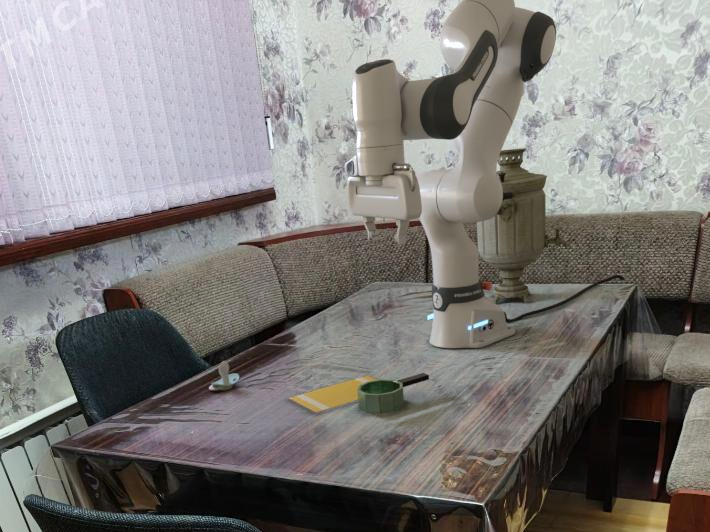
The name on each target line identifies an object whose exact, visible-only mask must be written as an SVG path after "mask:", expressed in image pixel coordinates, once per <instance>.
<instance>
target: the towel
mask: <svg viewBox="0 0 710 532" xmlns="http://www.w3.org/2000/svg"><path fill="white" fill-rule="evenodd" d="M374 380H378V379H377V378H374V377H371V376H369V375H365V376H360V377H356V378H354V379H349V380H347V381H343V382H340V383H336V384H332V385H329V386H326V387H323V388H319V389H315V390H312V391H309V392H308V391H307V392H305V393H301V394H298V395H294V396H291V397H288V399H289V400H292V401H293V402H295V403H298V404H299V405H301V406H303V407H304V408H307V409H309V410H310V411H313V413H319V412H323V411H326V410H330V409H333V408H335V407H338V406H343V405H346V404H349V403H352V402H356V401H358V393H357V390H358V386H359V385H362V384H364V383H366V382H368V381H374Z"/></svg>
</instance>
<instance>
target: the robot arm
mask: <svg viewBox="0 0 710 532" xmlns="http://www.w3.org/2000/svg"><path fill="white" fill-rule="evenodd" d="M445 19H446V20H445V21H444V23H443V25H442V28H441V29H440V33H439V48H440V52H441V55H442V57H443V60H444V62H445V63H446V65H447V66H448V67H449V68H450V69H451V70H452V71H453V72H452V73H450V74H445V75H441V76H437V77H431V78H425V79H424V78H423V79H416V80H410V79H409V78H406V76H404V75H403V74H401V73H400V71H398V69H397V65H396V62H395V61H394V60H393V59H389V58H388V59H387V58H384V59H378V60H374V61H369V62H366V63H363V64H361V65H359V66H358V67H357V68H356V69H355V70H354V73H353V78H352V88H351V89H352V91H351V93H352V95H351V96H352V112H353V113H352V114H353V122H354V125H355V128H356V135H357V138H356V147H355V148H356V149H355V150H356V154H355V155H354V156H353V157H352V158H350V160H348V161H346V162H345V163H344V173H345V176H347V177H348V178H347V181H346V188H347V197H348V205H349V209H350V212H351V214H352V215H353V216H358V217H362V223H363V225H364V227H365V230H366V232H367V240H368V241H370V242H375V241H379V240H380V231H379V230H378V229H377V227H376V224H375V223H376V222H375V221H376V218H379V219H388V220H395V225H396V226H397V229H396V234H394V235H393V238H394V244H395V245H398V246H402V245H405V244H407V233H408V230H409V227H410V220H411V221H412V220H417V219H418V221H419V222H420V223H421V225H422V227H423V231H424V232H425V236H426V238H427V241H428V245H429V247H430V248H429V249H430V256H431V266H432V267H431V268H432V284H431V300H432V307H433V313H431V314H429V315H427V321H429V320H431V319H432V324H431V331H430V336H429V340H428V342H429V344H430V345H431V346H434V347H437V348H443V349H465V348H466V349H467V348H468V349H469V348H470V349H480V348H484V347H487V346H489V345H491V344H494V343H497V342H498V341H502V340H504V339H506V338H509V337H511V336H513V335H516V330H515V328H514V327H511V326H510V325H507V323H513V322H517V321H519V320H522V319H524V318H527V317H530V316H533V315H537V314H541V313H544V312H547V311H551V310H553V309H555V308H559V307H560V306H564V305H565V304H567V303H569V302H571V301H573V300H574V299H576V298H578V297H579V296H581V295H582V294H584V293H586V292H587V291H589V290H592V288H594V287H597V286H598V285H601V284H605V283H607V282H609V281H611V280H612V281H613V280H614V279H620V280H621V281H625V280H626V279H625V278H624V276H622V275H621V274H614V275H611V276H609V277H606V278H604V279H601V280H598V281H596V282H594V283H592V284H590V285H587V286H586V287H585V288H582V289H581V290H580V291H578V292H576V293H575V294H573V295H571V296H569V297H568V298H566V299H564V300H561V301H560V302H557V303H555V304H552V305H549V306H546V307H543V308H539V309H535V310H532V311H528V312H525V313H522V314H520V315H518V316H517V317H515V318H511V319H510V318H508V315H507V313H506V312H505V311H504V310H503V308H502V307H500V306H499V305H497V304H495V303H494V302H492V300H491V299H490V298H488V297H487V296H485V295H486V293H485V292H484V291H488V292H489V291H491V290H492V289H493V283H492V282H491V281H487V280H484V281H483V282H482V281H480V280H479V279H480V278H479V275H480V273H479V270H480V269H479V251H478V245H477V244H476V243H475V241H473V240H472V239H471V238H470V236H469V235H468V232H467V231H466V228H465V225H464V224H477V222H481V221H485V220H489V219H491V218H493V217H494V216H495V215H496V214H497V212H498V211H499V209H500V207H501V204H502V199H503V189H502V185H501V182H500V180H499V178H498V177H497V173H496V172H497V169H498V168H497V167H498V162H497V161H498V157H499V154H500V152H501V151H502V150H503V147H504V144H505V142H506V140H507V138H508V135H509V133H510V131H511V128H512V126H513V124H514V121H515V119H516V116H517V114H518V112H519V108H520V105H521V100H522V97H523V93H524V88H525V83H527V82H531V81H532V80H533V79H534V77H535V76H536V75H538V74H539V73H540V72H541V71H542V70H543V69H544V68H545V67H546V66H547V64H549V62H550V61H551V58H552V56H553V52H554V50H555V47H556V40H557V27H556V24H555V20H554V19H553V17H551V16H550V15H548V14H546V13H544V12H541V11H539V10H538V11H536V12H535V11H532V10H529V9H526V8H522V7H519V6H518V7H517V6H516V3H515V0H461V1H460V2H459V4H457V6H456V7H455V8H454V9H453V10H452V12H451V13H450V14H449V15H448V16H447V18H445ZM418 140H419V141H420V140H453V142H454V146H455V149H456V150H457V152H458V154H459V158H458V161H457V163H456V165H455V167H454V168H451V169H449V168H447V169H431V170H428V171H424V172H422V173H419V174H418V175H417V174H416V171H415V170H414V168H413V167H412V166H411V164H410V163H406V161H405V145H404V143H405V142H404V141H418Z"/></svg>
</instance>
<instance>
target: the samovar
mask: <svg viewBox="0 0 710 532" xmlns="http://www.w3.org/2000/svg"><path fill="white" fill-rule="evenodd" d="M525 151H527V148H525V147H524V148H511V149H510V148H509V149H501V152H500V154H499V157H498V161H497V165H498V166H499V170H496V173H497V177H498V178H499V180H500V182H501V185H502V189H503V199H502V204H501V207H500V209H499V211H498V212H497V214H496V215H495V216H494V217H493V218H491V219H489V220H485V221H481V222H476V235H477V248H478V255H479V257H480V258H481V259H482V260H483V261H484V262H485V263H487V264H488V265H489V266H490V267H492V268H495V269H497V270H499V274H498V276H499V278H501V279H502V282H501V283H498V284H497V286H495V287H494V288H493V291H492V297H493V299H492V300H491V301H492V302H494V303H495V304H496V305H497V304H498V302H499V301H500V300H502V299H503V298H505V299H511V298H512V299H515V298H519V299H521V300H522V301H524V304H530V303H531V300H530V299H529V298H528V296H529V295H531V292H530V291H529V290H530V289H529V286H528V285H526V284H525V282H523V281H520V278H521V277H522V276H524V268H525V267H528V266H530V265H531V264H533V263H534V262H536V260H538V258H539V257H540V256H541V255H542V254H543V252H544V251H545V248H548V247H549V244H555V246H556V247H559V246H561V245H562V246H563V248H566V247H569V244H568V242H567V241H566V240H565V239H564V238H562V237H561V236H560V232H559V230H563V229H564V225H562V224H559V223H557V224H552V225H551V227H550V229H553V230H554V231H555V237H554V238H549V235H548V234H546V231H547V230H546V226H547V225H546V224H547V223H546V220H547V219H546V211H547V210H546V209H547V207H546V201H547V200H546V199H547V197H546V196H547V195H546V193H545V191H544V188H545V185H546V183H547V178H548V176H547V175H545V174H543V173H534V172H530V171H529V170H528V169H525V168H523V167H522V166H521V165H522V164H523V162H524V159H523V158H524V153H525Z"/></svg>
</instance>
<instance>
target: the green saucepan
mask: <svg viewBox="0 0 710 532" xmlns="http://www.w3.org/2000/svg"><path fill="white" fill-rule="evenodd" d="M429 380H430V375H429V374H428V373H424V372H421V373H418V374H415V375H411V376H409V377H404V378H401V379H397V380H395V379H383V378H381V379H377V380H374V381H368V382H366V383H364V384H362V385H359V386H358V390H357V393H358V400H357V402H358V410H360V411H362V412H364V413H366V414H377V415H380V414H381V415H382V414H387V413H394V412H397V411H398V410H400V409H401V408H404V407H405V397H404V396H405V393H404V388H406V387H409V386H412V385H415V384H416V385H417V384H419V383H422V382H425V381H429Z"/></svg>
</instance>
